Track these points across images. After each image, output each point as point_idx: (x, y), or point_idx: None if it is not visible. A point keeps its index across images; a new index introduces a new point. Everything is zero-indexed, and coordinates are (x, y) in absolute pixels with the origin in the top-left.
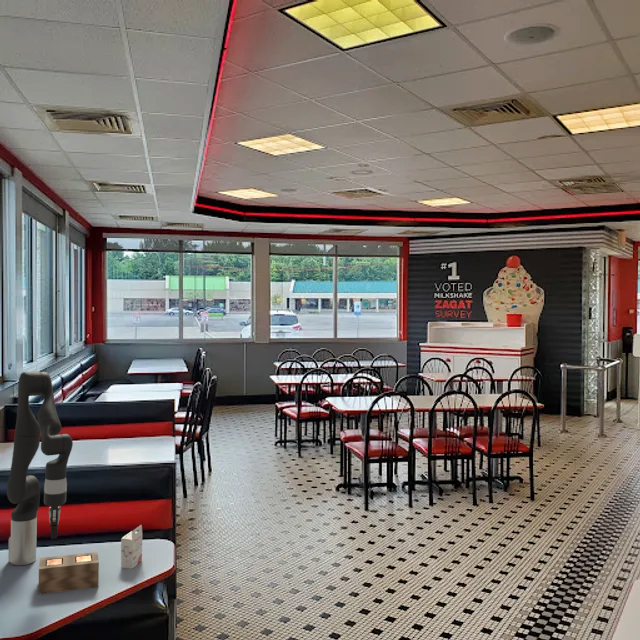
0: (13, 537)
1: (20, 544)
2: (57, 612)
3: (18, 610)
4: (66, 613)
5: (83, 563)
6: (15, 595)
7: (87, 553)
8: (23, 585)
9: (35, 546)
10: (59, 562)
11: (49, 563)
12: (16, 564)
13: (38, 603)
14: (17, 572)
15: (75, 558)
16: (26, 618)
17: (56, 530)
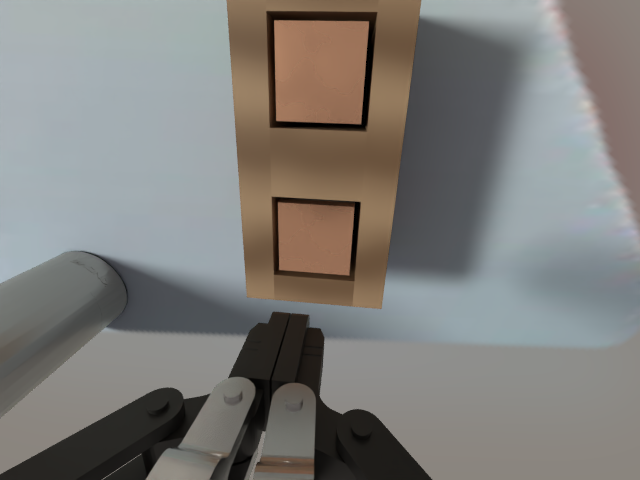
0: (34, 388)
1: (66, 347)
2: (564, 202)
3: (471, 313)
4: (595, 171)
5: (399, 80)
6: (354, 316)
7: (236, 43)
8: None
9: (43, 280)
10: (328, 216)
11: (326, 262)
12: (123, 308)
13: (449, 258)
14: (178, 304)
15: (272, 125)
16: (546, 295)
17: (298, 366)
